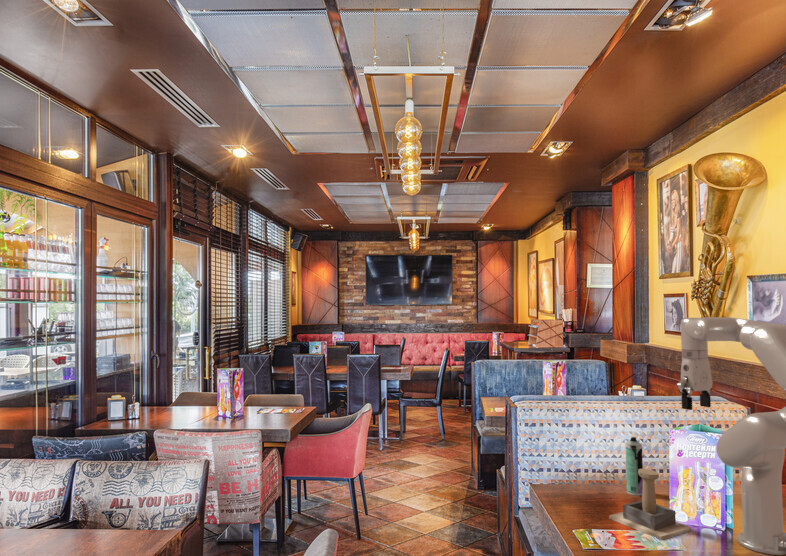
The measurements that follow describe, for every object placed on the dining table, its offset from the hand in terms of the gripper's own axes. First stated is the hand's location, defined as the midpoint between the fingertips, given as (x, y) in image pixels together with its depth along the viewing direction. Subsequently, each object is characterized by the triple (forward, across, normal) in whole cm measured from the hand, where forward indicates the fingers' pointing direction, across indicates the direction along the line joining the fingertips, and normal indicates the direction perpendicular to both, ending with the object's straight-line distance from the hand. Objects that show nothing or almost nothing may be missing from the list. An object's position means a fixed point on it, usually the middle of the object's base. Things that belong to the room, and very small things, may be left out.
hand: (696, 407), depth 175 cm
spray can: (+34, 0, +24) cm, 42 cm away
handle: (+34, -21, +3) cm, 40 cm away
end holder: (+34, -21, +3) cm, 40 cm away
